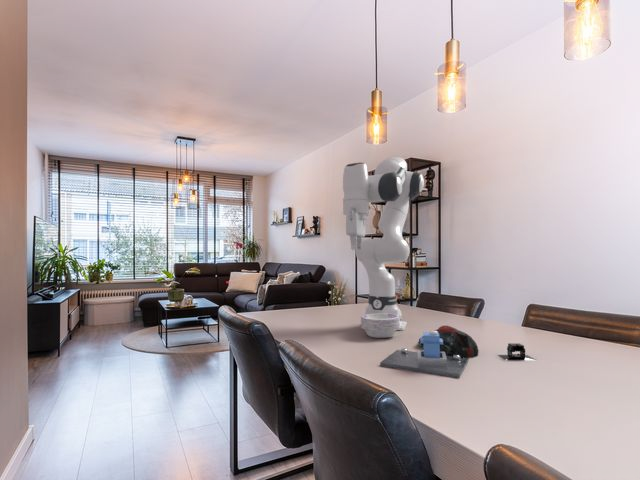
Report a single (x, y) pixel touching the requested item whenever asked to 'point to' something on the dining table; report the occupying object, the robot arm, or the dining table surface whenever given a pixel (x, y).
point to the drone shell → (456, 343)
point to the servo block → (431, 344)
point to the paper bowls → (380, 324)
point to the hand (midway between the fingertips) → (356, 249)
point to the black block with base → (516, 347)
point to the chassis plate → (412, 364)
